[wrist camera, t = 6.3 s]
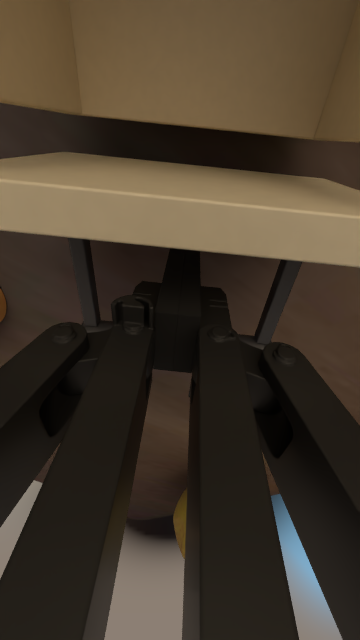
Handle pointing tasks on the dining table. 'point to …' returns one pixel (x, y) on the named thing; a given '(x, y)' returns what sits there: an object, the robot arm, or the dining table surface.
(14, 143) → the dining table surface
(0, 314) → the stepped orange cylinder
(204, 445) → the robot arm
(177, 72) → the drawer
